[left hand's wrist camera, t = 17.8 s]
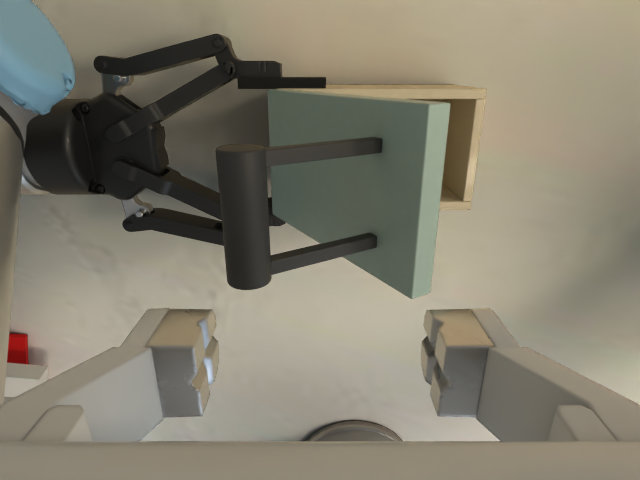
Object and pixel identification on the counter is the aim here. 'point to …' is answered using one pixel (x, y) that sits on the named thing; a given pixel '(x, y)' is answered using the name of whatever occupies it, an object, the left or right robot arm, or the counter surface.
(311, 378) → the counter surface
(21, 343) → the toy
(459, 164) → the chest
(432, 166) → the lid
